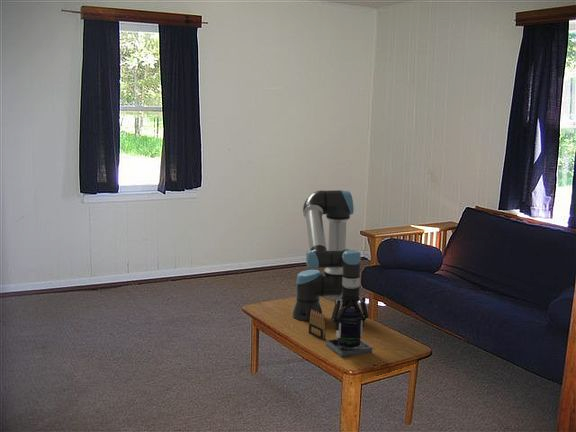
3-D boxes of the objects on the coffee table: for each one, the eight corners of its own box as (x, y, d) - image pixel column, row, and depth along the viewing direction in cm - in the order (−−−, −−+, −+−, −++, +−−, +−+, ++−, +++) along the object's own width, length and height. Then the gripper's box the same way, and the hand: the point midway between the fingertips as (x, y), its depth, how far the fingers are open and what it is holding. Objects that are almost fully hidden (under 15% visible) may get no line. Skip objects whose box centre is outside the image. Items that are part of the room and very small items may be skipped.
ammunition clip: (325, 339, 302) (326, 314, 300) (322, 340, 301) (323, 314, 299) (311, 332, 311) (312, 308, 309) (308, 333, 310) (309, 308, 308)
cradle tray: (325, 345, 294) (326, 340, 293) (355, 341, 300) (355, 336, 299) (341, 357, 280) (341, 351, 280) (372, 352, 286) (372, 347, 286)
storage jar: (354, 338, 296) (356, 306, 293) (364, 346, 286) (365, 313, 284) (334, 340, 293) (335, 308, 290) (342, 348, 283) (343, 315, 281)
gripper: (331, 291, 277) (330, 341, 281) (377, 286, 286) (375, 335, 290) (323, 286, 284) (322, 335, 288) (369, 281, 293) (367, 329, 297)
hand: (349, 335), depth 289 cm, fingers closed on storage jar, 10 cm apart
